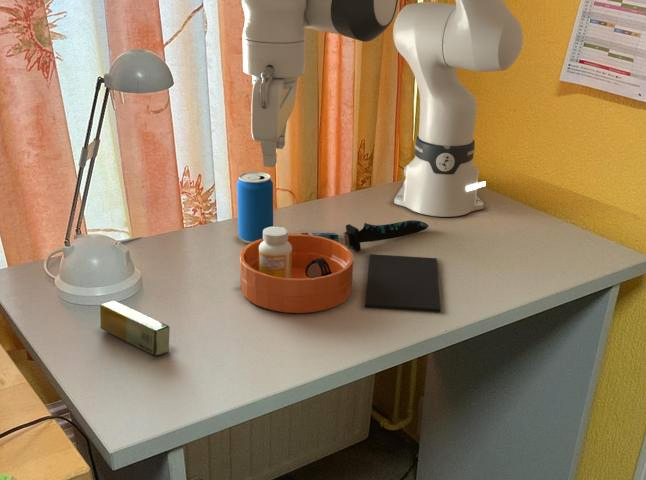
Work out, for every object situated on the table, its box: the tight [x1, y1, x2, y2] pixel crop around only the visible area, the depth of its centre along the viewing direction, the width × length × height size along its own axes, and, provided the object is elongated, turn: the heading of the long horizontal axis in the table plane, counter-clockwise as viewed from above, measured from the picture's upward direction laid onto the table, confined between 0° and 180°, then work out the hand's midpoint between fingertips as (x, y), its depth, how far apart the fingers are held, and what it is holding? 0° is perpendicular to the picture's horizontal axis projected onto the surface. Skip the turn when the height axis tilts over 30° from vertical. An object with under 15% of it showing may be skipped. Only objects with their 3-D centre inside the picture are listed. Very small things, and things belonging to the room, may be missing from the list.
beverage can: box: [236, 171, 274, 244], centre depth 145 cm, size 6×6×12 cm
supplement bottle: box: [259, 226, 292, 278], centre depth 128 cm, size 5×5×10 cm
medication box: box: [99, 300, 171, 357], centre depth 113 cm, size 12×3×4 cm, turn 54°
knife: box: [300, 219, 429, 253], centre depth 147 cm, size 31×3×4 cm, turn 124°
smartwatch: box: [305, 258, 332, 278], centre depth 129 cm, size 4×5×5 cm
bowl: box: [239, 233, 355, 314], centre depth 129 cm, size 18×18×6 cm
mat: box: [364, 253, 442, 313], centre depth 135 cm, size 20×12×1 cm, turn 176°
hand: (274, 156), depth 120 cm, fingers open, 8 cm apart
